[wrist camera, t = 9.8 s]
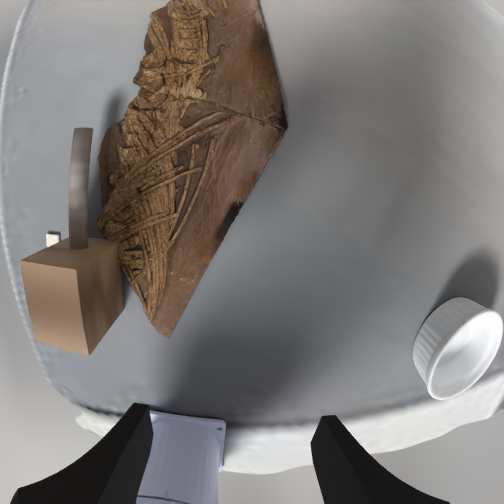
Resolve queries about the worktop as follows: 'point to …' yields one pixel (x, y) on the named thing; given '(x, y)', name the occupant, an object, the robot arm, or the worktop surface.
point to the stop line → (52, 239)
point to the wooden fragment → (188, 147)
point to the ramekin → (456, 346)
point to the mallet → (74, 272)
